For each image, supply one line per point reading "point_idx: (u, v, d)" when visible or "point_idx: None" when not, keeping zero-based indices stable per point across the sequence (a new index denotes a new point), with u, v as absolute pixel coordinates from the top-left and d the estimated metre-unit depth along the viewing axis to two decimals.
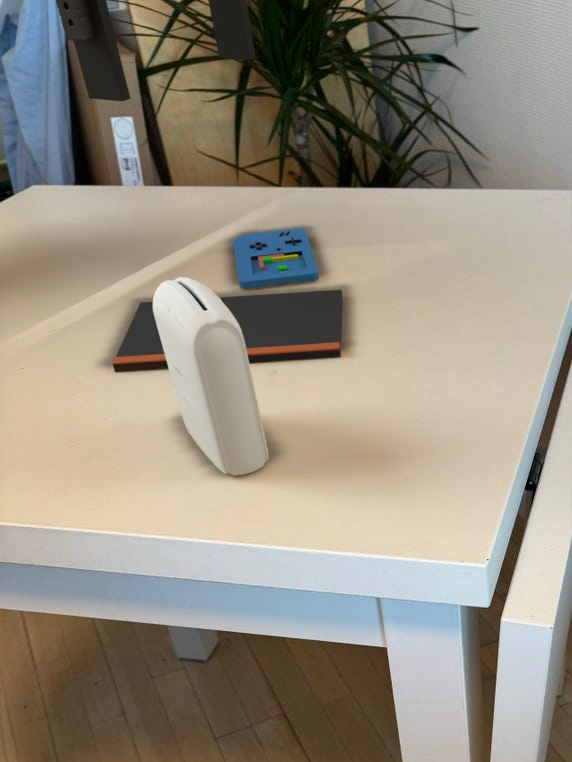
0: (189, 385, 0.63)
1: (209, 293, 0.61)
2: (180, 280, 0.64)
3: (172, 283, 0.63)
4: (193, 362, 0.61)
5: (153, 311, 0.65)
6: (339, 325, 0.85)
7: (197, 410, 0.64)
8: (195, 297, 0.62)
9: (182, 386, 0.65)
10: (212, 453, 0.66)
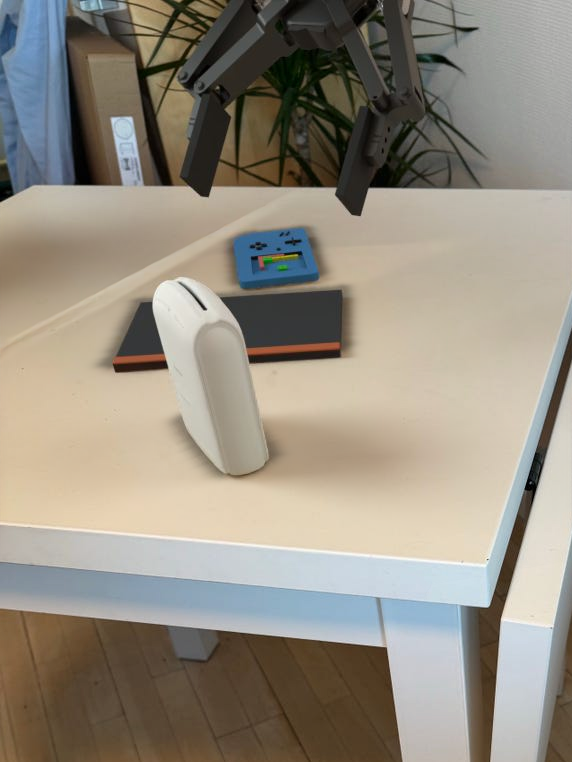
0: (189, 385, 0.63)
1: (209, 293, 0.61)
2: (180, 280, 0.64)
3: (172, 283, 0.63)
4: (193, 362, 0.61)
5: (153, 311, 0.65)
6: (339, 325, 0.85)
7: (197, 410, 0.64)
8: (195, 297, 0.62)
9: (182, 386, 0.65)
10: (212, 453, 0.66)
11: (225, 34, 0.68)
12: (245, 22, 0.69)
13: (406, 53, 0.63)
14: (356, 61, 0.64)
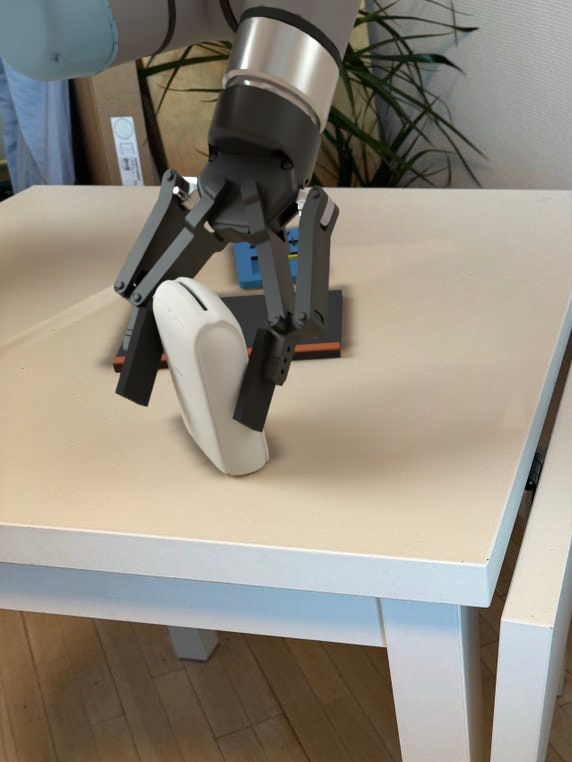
0: (189, 385, 0.63)
1: (209, 293, 0.61)
2: (180, 280, 0.64)
3: (172, 283, 0.63)
4: (194, 363, 0.61)
5: (153, 310, 0.65)
6: (339, 325, 0.85)
7: (197, 410, 0.64)
8: (195, 297, 0.61)
9: (182, 386, 0.65)
10: (212, 453, 0.66)
11: (156, 237, 0.66)
12: (174, 221, 0.67)
13: (312, 276, 0.61)
14: (263, 275, 0.63)
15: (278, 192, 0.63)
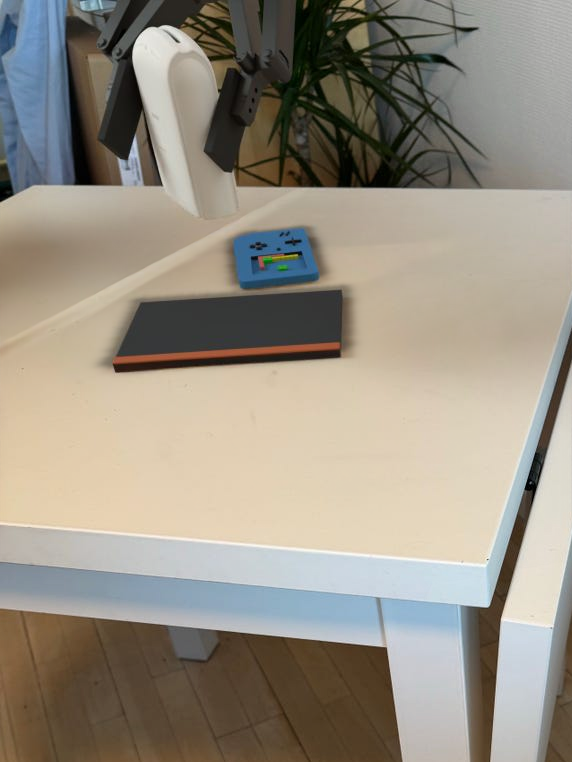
0: (165, 125, 0.69)
1: (183, 32, 0.67)
2: None
3: None
4: (167, 93, 0.66)
5: (133, 62, 0.70)
6: (339, 325, 0.85)
7: (172, 151, 0.70)
8: None
9: (159, 133, 0.71)
10: (186, 197, 0.71)
11: None
12: None
13: (277, 17, 0.67)
14: (233, 20, 0.68)
15: None
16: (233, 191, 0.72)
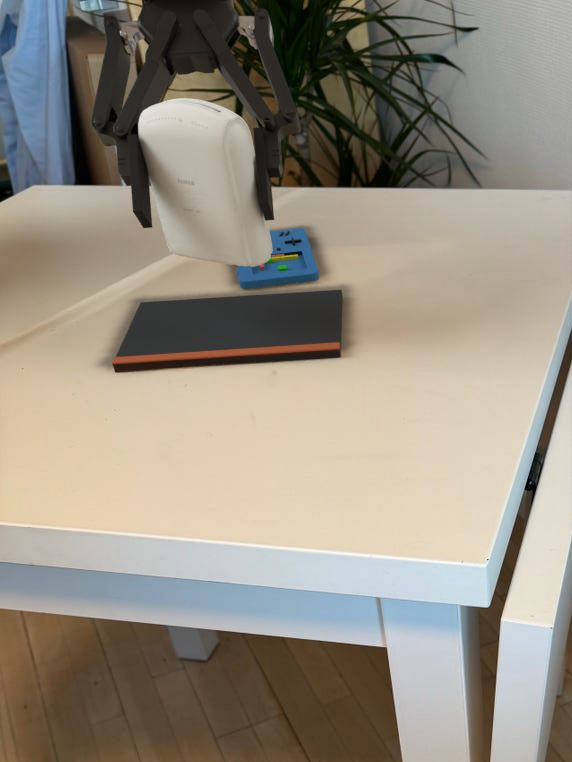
0: (207, 187, 0.75)
1: None
2: None
3: (167, 102, 0.73)
4: (222, 157, 0.72)
5: (144, 136, 0.75)
6: (339, 325, 0.85)
7: (216, 210, 0.76)
8: None
9: (190, 196, 0.76)
10: (233, 249, 0.78)
11: (116, 76, 0.75)
12: (123, 63, 0.76)
13: (284, 79, 0.76)
14: (239, 86, 0.75)
15: (225, 19, 0.76)
16: (268, 237, 0.79)
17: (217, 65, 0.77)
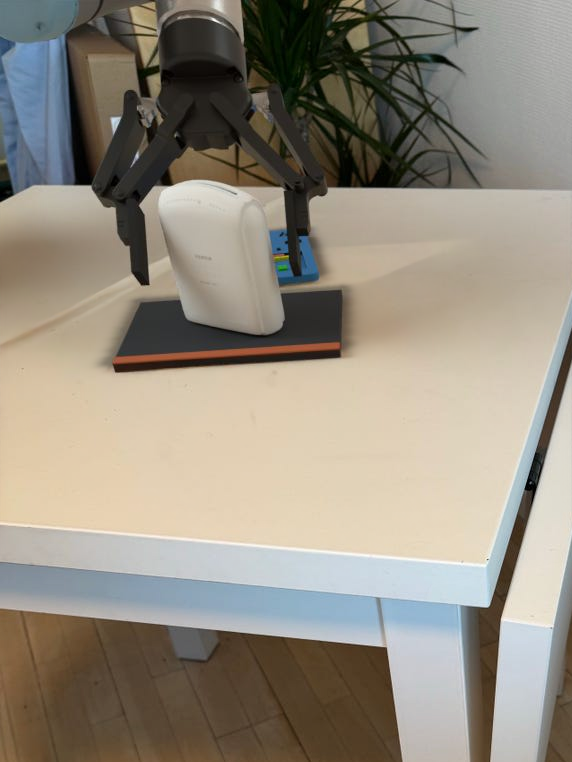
0: (224, 263, 0.79)
1: None
2: (185, 183, 0.78)
3: (186, 184, 0.77)
4: (238, 237, 0.77)
5: (164, 214, 0.79)
6: (339, 325, 0.85)
7: (232, 284, 0.80)
8: None
9: (207, 271, 0.80)
10: (247, 320, 0.82)
11: (125, 147, 0.79)
12: (136, 134, 0.80)
13: (307, 145, 0.80)
14: (265, 156, 0.80)
15: (240, 100, 0.80)
16: (280, 307, 0.83)
17: (231, 142, 0.81)
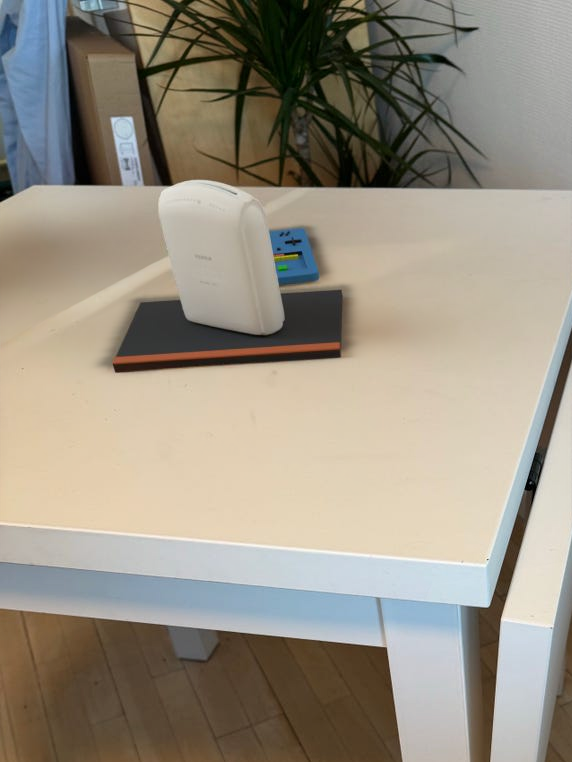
0: (224, 263, 0.79)
1: None
2: (185, 183, 0.78)
3: (186, 184, 0.77)
4: (238, 237, 0.77)
5: (164, 214, 0.79)
6: (339, 325, 0.85)
7: (232, 284, 0.80)
8: None
9: (207, 271, 0.80)
10: (247, 320, 0.82)
11: None
12: None
13: None
14: None
15: None
16: (280, 307, 0.83)
17: None
